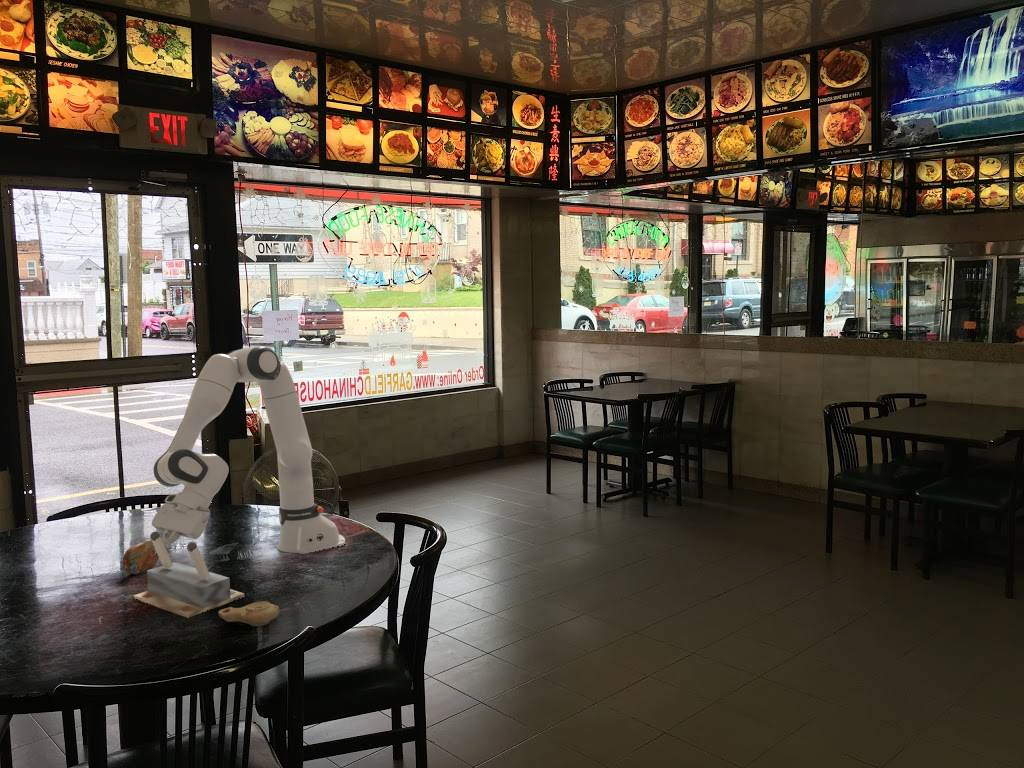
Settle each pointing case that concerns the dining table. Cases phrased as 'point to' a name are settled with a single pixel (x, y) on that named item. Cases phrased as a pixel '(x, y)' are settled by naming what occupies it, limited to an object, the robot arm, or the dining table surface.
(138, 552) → the tin
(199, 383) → the robot arm
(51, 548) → the dining table surface
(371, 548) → the dining table surface
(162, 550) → the lever
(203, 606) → the switch box
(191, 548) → the lever
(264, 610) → the oil lamp
